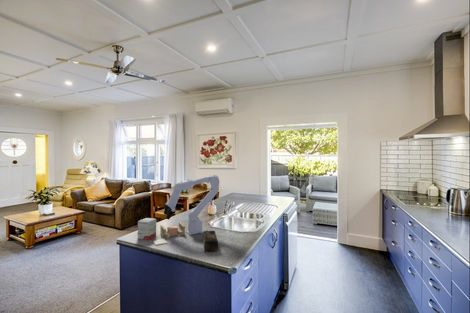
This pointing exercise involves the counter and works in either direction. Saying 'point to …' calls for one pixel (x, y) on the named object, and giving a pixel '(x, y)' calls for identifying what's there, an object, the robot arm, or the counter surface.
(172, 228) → the terracotta block
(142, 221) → the ink box
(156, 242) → the white tile
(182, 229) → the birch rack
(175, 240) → the counter surface
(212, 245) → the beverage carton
